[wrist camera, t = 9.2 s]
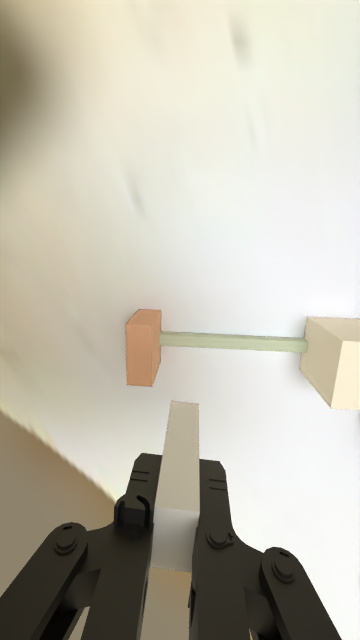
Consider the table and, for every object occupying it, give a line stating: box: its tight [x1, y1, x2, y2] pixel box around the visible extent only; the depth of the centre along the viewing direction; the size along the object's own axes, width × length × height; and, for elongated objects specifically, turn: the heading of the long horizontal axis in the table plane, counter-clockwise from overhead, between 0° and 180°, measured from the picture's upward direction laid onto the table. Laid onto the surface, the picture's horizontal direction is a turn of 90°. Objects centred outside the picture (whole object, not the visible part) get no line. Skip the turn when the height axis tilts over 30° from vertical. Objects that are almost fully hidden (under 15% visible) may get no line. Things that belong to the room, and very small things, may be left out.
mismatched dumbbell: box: [126, 309, 360, 410], centre depth 28 cm, size 24×6×8 cm, turn 88°
